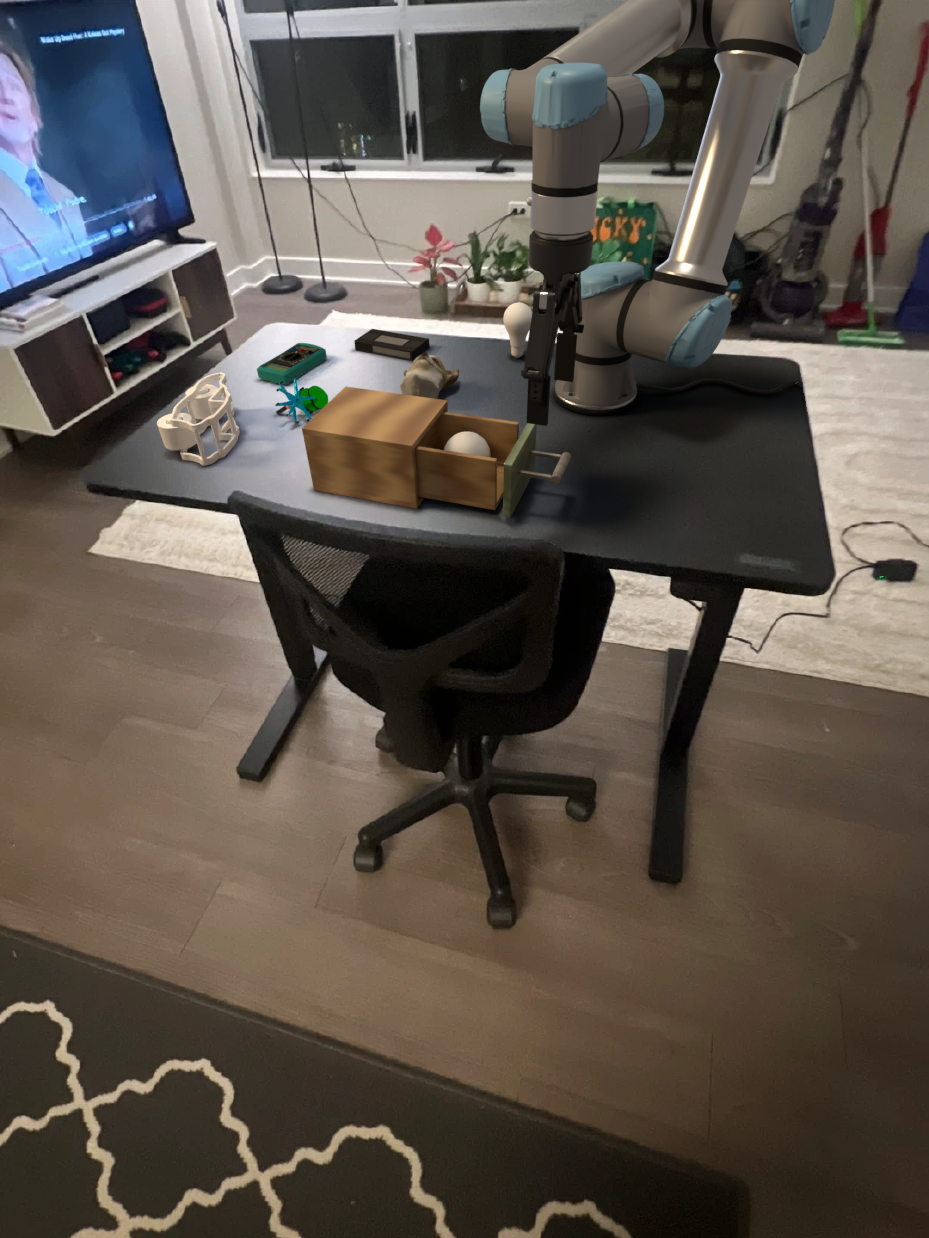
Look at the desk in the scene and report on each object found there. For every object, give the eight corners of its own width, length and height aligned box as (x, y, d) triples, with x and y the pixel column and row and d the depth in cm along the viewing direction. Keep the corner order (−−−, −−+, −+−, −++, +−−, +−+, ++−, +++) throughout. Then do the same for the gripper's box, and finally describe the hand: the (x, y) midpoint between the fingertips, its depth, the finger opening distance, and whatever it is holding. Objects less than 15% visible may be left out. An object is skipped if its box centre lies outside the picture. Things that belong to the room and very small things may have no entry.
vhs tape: (412, 361, 149) (411, 351, 147) (354, 350, 154) (353, 341, 152) (429, 347, 154) (429, 338, 152) (373, 337, 158) (372, 328, 157)
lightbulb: (497, 354, 150) (498, 301, 143) (523, 349, 152) (525, 296, 144) (510, 365, 146) (511, 310, 139) (536, 360, 148) (539, 305, 140)
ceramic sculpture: (385, 364, 127) (408, 336, 138) (388, 410, 132) (410, 380, 144) (443, 368, 125) (462, 340, 136) (444, 415, 130) (462, 385, 142)
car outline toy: (205, 408, 135) (194, 371, 130) (260, 411, 134) (251, 373, 129) (157, 463, 121) (142, 423, 116) (218, 466, 119) (206, 426, 114)
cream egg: (434, 480, 111) (431, 438, 106) (462, 460, 115) (460, 418, 110) (487, 500, 106) (487, 457, 101) (514, 478, 111) (515, 435, 106)
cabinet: (450, 461, 119) (447, 400, 112) (417, 509, 109) (411, 445, 101) (353, 445, 124) (345, 386, 116) (313, 490, 113) (301, 428, 106)
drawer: (573, 477, 113) (578, 426, 107) (552, 525, 103) (556, 472, 97) (437, 456, 118) (435, 406, 112) (406, 499, 109) (401, 447, 103)
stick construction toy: (291, 421, 126) (274, 379, 124) (269, 435, 130) (252, 394, 129) (339, 413, 135) (323, 373, 133) (317, 427, 139) (301, 388, 138)
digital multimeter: (329, 359, 151) (327, 345, 149) (286, 387, 141) (283, 372, 139) (301, 353, 153) (299, 339, 151) (257, 380, 144) (254, 366, 142)
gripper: (558, 202, 93) (549, 360, 107) (497, 260, 76) (496, 439, 91) (615, 206, 91) (598, 367, 105) (565, 267, 74) (553, 448, 89)
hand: (551, 400), depth 98 cm, fingers open, 13 cm apart
